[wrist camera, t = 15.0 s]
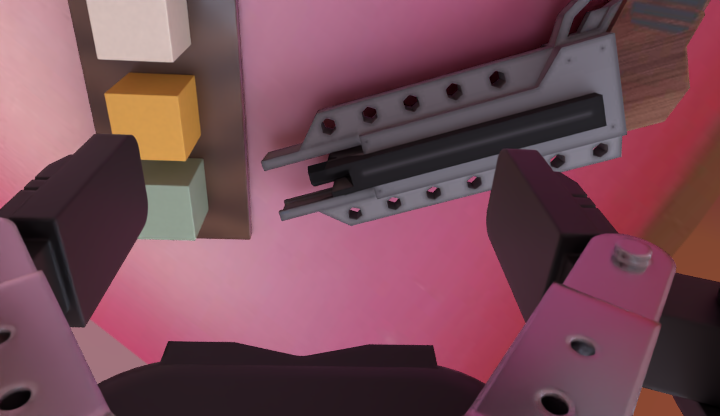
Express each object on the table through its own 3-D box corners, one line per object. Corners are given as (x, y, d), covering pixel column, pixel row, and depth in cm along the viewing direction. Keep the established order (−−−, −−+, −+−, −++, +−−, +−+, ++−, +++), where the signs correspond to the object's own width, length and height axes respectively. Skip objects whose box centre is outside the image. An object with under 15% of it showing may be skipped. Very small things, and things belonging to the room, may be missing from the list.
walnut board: (29, -215, 30) (20, -218, 29) (226, -202, 31) (222, -205, 30) (121, 230, 45) (117, 236, 45) (252, 233, 46) (250, 240, 45)
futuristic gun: (210, 43, 33) (286, 255, 38) (778, -130, 30) (784, 129, 34) (236, 39, 40) (298, 222, 44) (707, -104, 36) (721, 112, 41)
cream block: (111, -32, 34) (81, -22, 30) (183, -28, 35) (163, -18, 31) (123, 41, 37) (97, 59, 33) (191, 44, 37) (173, 62, 33)
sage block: (142, 156, 41) (121, 184, 37) (203, 158, 41) (188, 186, 37) (151, 207, 43) (132, 239, 39) (208, 209, 44) (195, 241, 40)
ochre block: (139, 133, 40) (116, 159, 36) (128, 72, 38) (103, 93, 34) (201, 135, 40) (185, 161, 36) (194, 75, 38) (177, 96, 34)
